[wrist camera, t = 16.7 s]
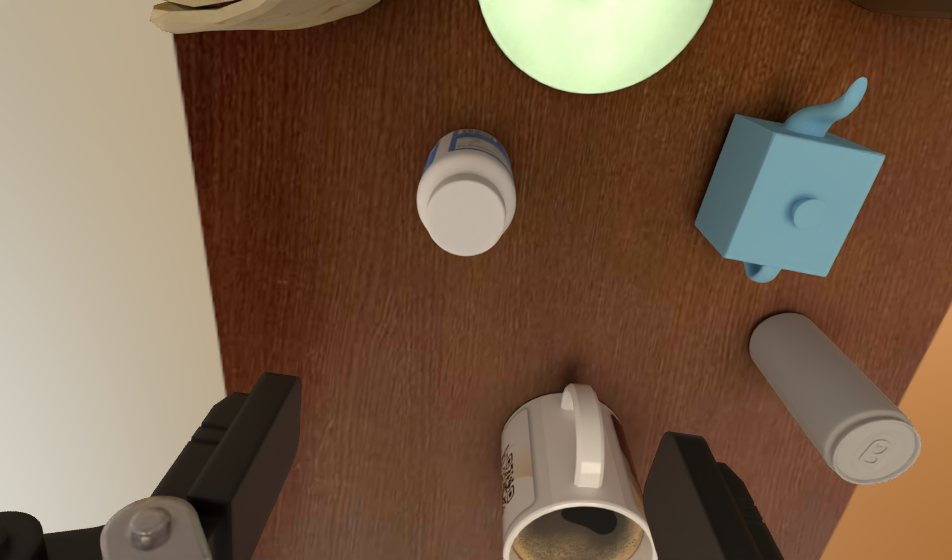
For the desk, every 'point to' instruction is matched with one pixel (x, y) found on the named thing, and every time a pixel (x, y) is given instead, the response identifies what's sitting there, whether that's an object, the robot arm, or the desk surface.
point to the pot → (910, 7)
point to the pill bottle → (467, 192)
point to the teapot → (788, 190)
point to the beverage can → (834, 401)
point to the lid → (592, 39)
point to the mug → (570, 483)
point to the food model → (251, 14)
